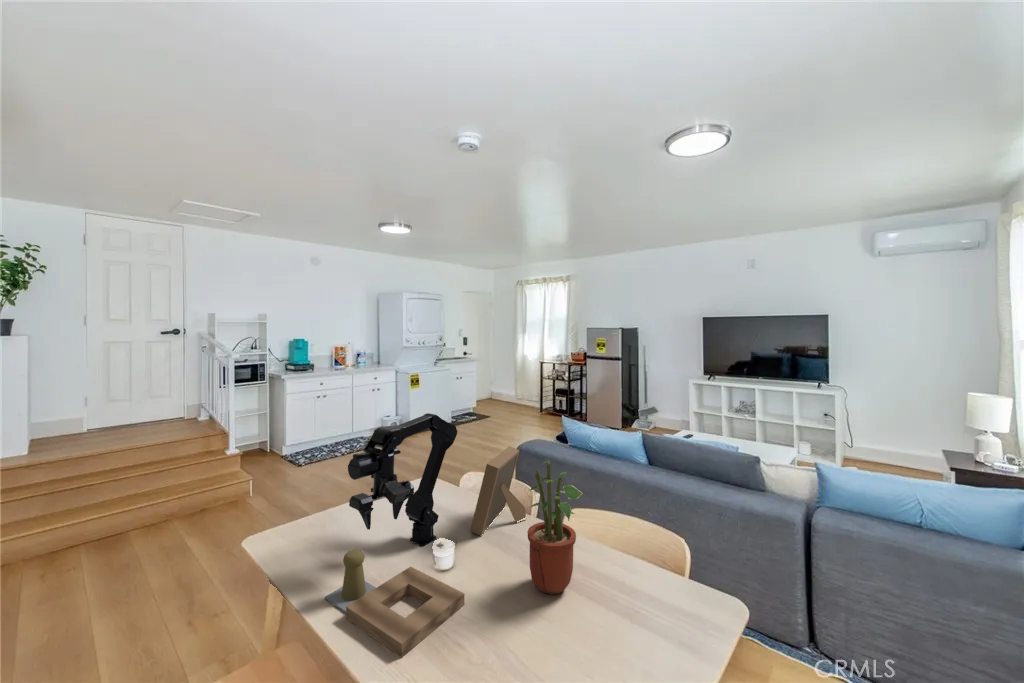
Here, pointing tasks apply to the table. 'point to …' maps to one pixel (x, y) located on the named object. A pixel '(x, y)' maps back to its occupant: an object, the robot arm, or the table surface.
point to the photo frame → (497, 491)
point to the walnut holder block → (415, 627)
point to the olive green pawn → (353, 575)
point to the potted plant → (552, 538)
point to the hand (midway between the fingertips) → (382, 524)
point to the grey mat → (339, 602)
